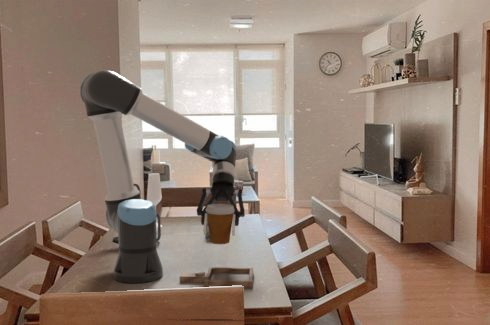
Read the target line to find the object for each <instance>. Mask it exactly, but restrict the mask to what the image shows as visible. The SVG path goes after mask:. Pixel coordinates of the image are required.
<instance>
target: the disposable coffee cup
mask: <svg viewBox="0 0 490 325" xmlns="http://www.w3.org/2000/svg"><path fill="white" fill-rule="evenodd" d="M206 205H207V204H206ZM234 211H235V209H234V206H233V205H230V204H228V203H215V204H210V205H207V209H206V212H207V216H208V225H209V234H210V237H209V240H210V241H209V242H210V244H214V245H225V244H229V243H230V240H231V234H232V223H233V214H234Z"/></svg>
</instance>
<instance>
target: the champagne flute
mask: <svg viewBox="0 0 490 325" xmlns="http://www.w3.org/2000/svg"><path fill="white" fill-rule="evenodd" d="M162 196H163V195H162V185H161V175H160V173H159V172H158V173H157V172H156V173H155V172H152V173H151V172H150V173H148V179H147V192H146V200H148V201H150V202H152V203H153V204H154V205H155V207H156V208H157V205H158V204H159V203H161V201H162V199H163V197H162ZM162 227H163V225H162V224H161V228H162ZM156 229H158V221H156Z"/></svg>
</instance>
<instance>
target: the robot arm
mask: <svg viewBox="0 0 490 325" xmlns="http://www.w3.org/2000/svg"><path fill="white" fill-rule="evenodd" d="M80 84H81V85H80V88H79V95H80V98H81V100H82V102H83V103H84V107H85V110H86V111H85V112H86V115H87V116H86V117H87V118H88V119H90V120H91V121H92V122H93V126H94V131H95V135H96V140H97V146H98V150H99V155H100V159H101V163H102V169H103V174H104V178H105V184H106V188H107V192H108V193H107V194H106V196H105V197H104V202H105V206H106V208H105V209H106V211H105V218H106V219H105V220H106V222H107V224H108V225H109V227H110V228H111V229H112V230H113V231H115V233H117V234H118V235H117V237H118V238H119V239H118V240H119V243H118V255H117V259H116V261H115V265H114V268H113V279H114V280H115V281H117V282H120V283H127V284H139V283H140V284H141V283H147V282H148V283H149V282H153V281H156V280H159V279H160V278H162V277H163V275H164V273H163V272H164V271H163V270H164V269H163V264H162V261H161V259H160V256H159V253H158V250H157V249H158V248H157V245H158V244H157V242H158V241H157V240H156V238H157V228H156V222H157V214H156V213H157V206H156V207H155V205H154V204H153V203H152V202H150V201H148V200H147V199H142V196H141V195H142V194H141V195H140V191H141V190H140V191H139V190H138V189H137V187H136V186H134V184H135V183H134V180H133V175H132V169H131V165H130V160H129V154H128V150H127V145H126V140H125V136H124V134H125V133H124V130H123V124H122V120H121V119H122V118H121V116H122V114H123V115H125V116H127V115H128V116H130V115H132V116H133V117H135V118H137V119H138V120H140V121H142V122H145V123H146V124H149V125H150V126H152V127H154V128H156V129H157V130H160V131H161V132H164V133H166V134H168V135H169V136H171V137H172V138H175V139H177V140H178V141H180V142H182V143H184V148H185V149H186V150H187V151H189V152H191V153H192V154H195V155H197V156H199V157H202V158H204V159H206V160H208V161H210V162H212V163H213V171H212V172H213V174H212V183H211V184H212V185H211V187H210V188H209V189H206V187H203V188H202V194H201V197H200V200H199V202H198V205H197V209H196V215H197V216H198V217H200V218H201V219H200V222H201V225H202V226H203V229H202V230H203V235H204V236H205V235H206V233H207V223H208V216H207V212H206V209H207V205H210V204H217V202H222V201H223V202H227V204H230V205H233V206H234V209H235V211H234V213H233V219H232V227H231V234H232V236H235V235H236V234H235V233H236V232H235V231H236V227H237V226H239V224H240V218H241V217H242V218H244V217H245V214H246V213H245V206H244V201H243V188H242V189H241V188H240V189H238V190H237V189H235V175H236V160H237V146H236V144H235V143H234V141H232V140H230V139H229V138H227V137H225V136H224V135H219V134H217V133H215V132H213V131H211V130H209V129H208V128H206V127H204V126H202V125H201V124H198V123H197V122H195V121H194V120H192V119H190V118H189V117H187V116H184V115H183V114H181V113H179V112H177V111H176V110H175V109H172V108H171V107H169V106H167V105H165V104H164V103H161V102H160V101H158V100H156V99H154V98H153V97H151V96H149V95H147V94H146V93H145V92H143V90H142V88H141V87H140V86H138V85H137V84H135V83H133V82H131V81H130V80H128V78H126V77H124V76H122V75H121V74H119V73H118V72H116V71H112V70H109V69H103V70H99V71H96V72H93V73H91V74H88V75H87V76H86V77H85V78H84V79H83V81H82V83H80ZM209 195H211V197H210V199H209V201H208V202H207V203H206V201H207V198H208V196H209ZM234 195H235V196H236V197H237V201H238V206H239V210H238V208H237V206H236V204H235V201H234V200H233V198H232V197H233V196H234ZM205 204H206V205H205ZM204 206H205V207H204Z"/></svg>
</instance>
